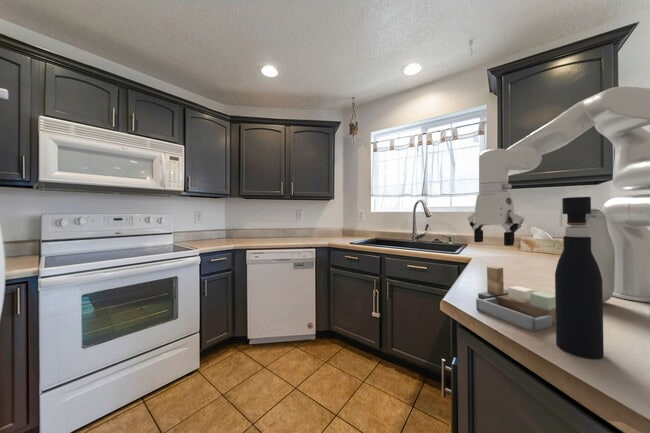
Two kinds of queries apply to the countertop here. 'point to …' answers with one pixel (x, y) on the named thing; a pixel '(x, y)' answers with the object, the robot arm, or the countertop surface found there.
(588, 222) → the white tall rounded piece
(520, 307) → the walnut plate
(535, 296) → the sage tile
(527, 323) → the tray
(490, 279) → the rubber stamp
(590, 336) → the black bottle
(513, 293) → the cream block
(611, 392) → the countertop surface
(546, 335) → the countertop surface
